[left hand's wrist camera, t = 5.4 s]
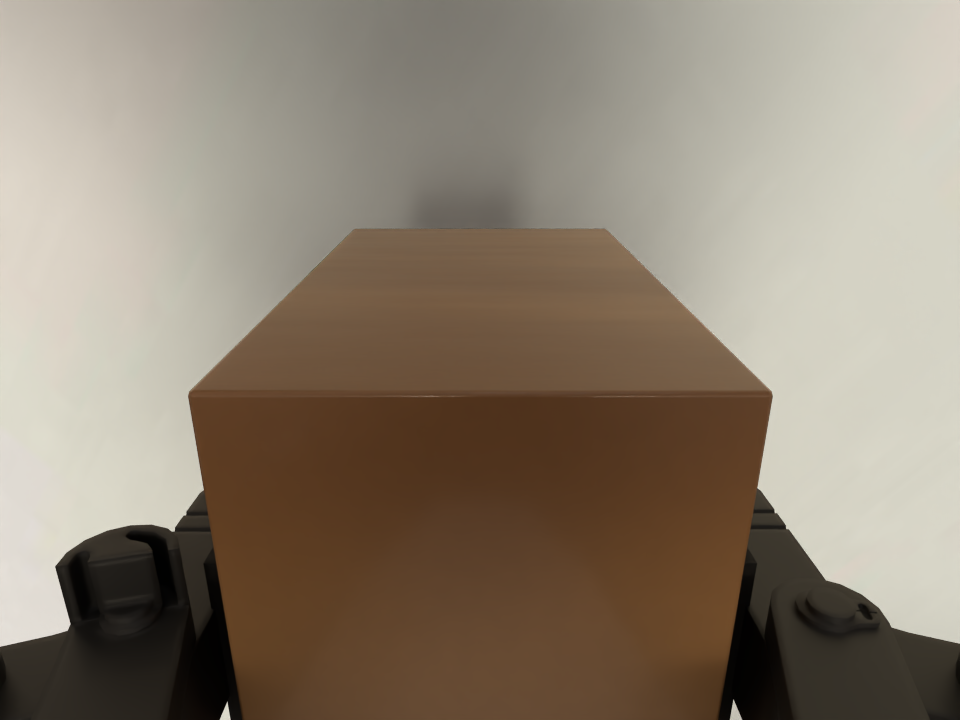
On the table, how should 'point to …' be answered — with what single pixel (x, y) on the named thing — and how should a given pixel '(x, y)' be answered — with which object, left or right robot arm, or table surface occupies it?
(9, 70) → the table surface
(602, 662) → the bar
